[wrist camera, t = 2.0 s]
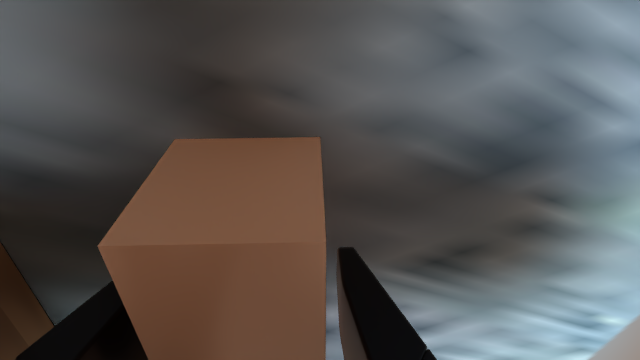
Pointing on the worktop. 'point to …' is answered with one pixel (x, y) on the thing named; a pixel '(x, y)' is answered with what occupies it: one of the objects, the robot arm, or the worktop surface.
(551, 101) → the worktop surface
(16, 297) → the wooden open tray
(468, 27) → the worktop surface
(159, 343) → the clay strip
